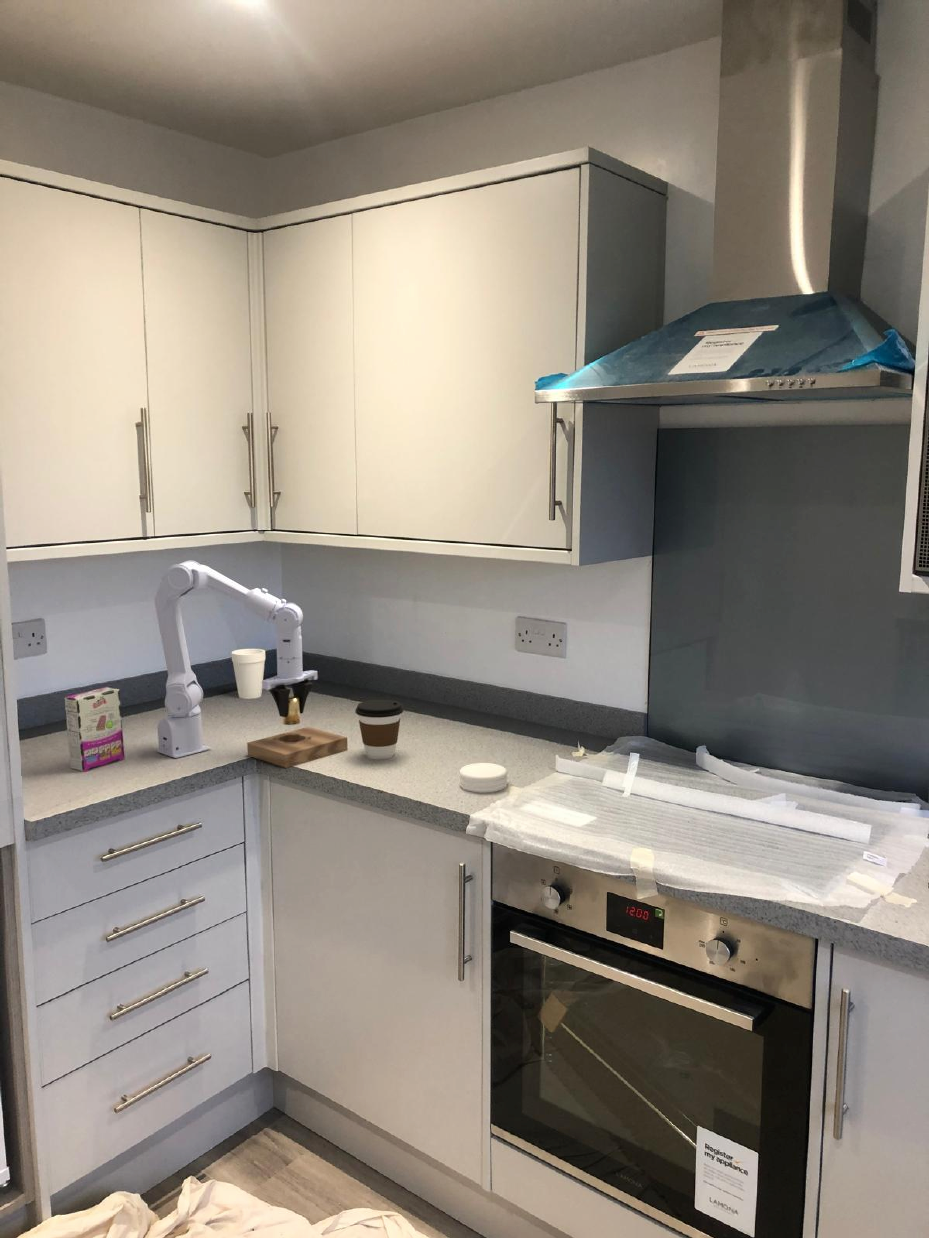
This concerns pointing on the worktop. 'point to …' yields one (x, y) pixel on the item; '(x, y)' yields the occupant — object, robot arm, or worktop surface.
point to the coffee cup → (379, 727)
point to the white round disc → (483, 777)
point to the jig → (297, 746)
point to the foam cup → (249, 671)
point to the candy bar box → (94, 728)
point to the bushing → (293, 711)
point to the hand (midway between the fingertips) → (291, 714)
